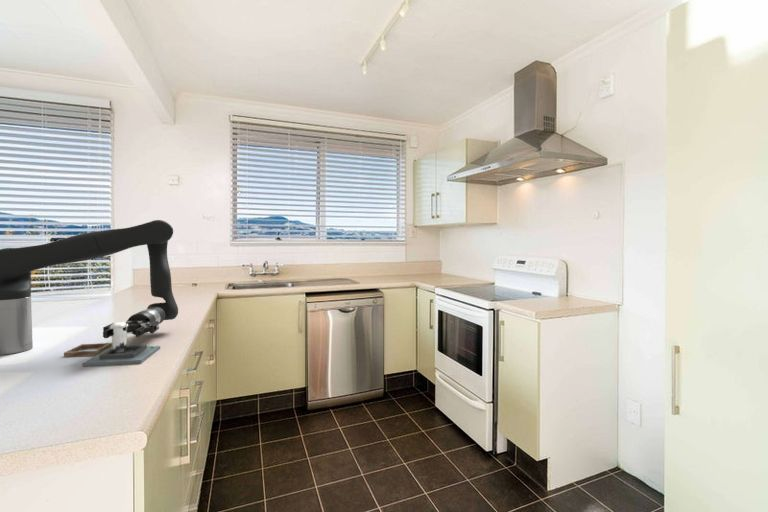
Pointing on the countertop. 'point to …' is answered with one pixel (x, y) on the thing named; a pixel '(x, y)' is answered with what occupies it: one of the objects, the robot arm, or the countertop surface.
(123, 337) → the milkshake
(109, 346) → the square wooden frame
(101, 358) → the port plate
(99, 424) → the countertop surface
